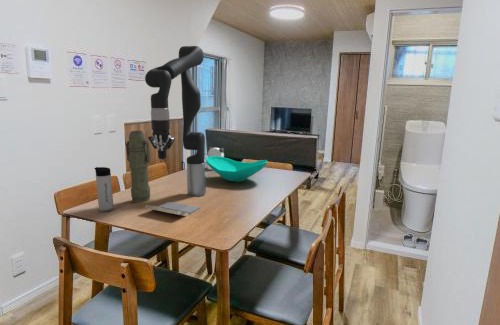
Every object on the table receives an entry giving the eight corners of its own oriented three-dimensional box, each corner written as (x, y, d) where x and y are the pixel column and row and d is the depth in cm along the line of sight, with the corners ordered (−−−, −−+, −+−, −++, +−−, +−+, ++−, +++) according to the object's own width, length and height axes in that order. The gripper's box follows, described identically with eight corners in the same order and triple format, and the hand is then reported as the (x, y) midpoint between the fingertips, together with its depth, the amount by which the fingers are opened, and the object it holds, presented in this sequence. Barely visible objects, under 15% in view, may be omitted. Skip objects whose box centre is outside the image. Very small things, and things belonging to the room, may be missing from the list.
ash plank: (156, 210, 153) (157, 206, 153) (188, 216, 145) (189, 213, 145) (144, 207, 146) (145, 204, 146) (177, 214, 138) (178, 211, 138)
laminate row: (169, 204, 161) (168, 201, 160) (199, 210, 153) (199, 207, 153) (158, 209, 154) (158, 206, 154) (190, 215, 146) (189, 212, 146)
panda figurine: (227, 167, 241) (226, 147, 238) (219, 170, 231) (219, 149, 228) (212, 165, 246) (212, 146, 243) (204, 169, 236) (204, 148, 233)
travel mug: (102, 207, 156) (98, 166, 152) (116, 207, 156) (112, 166, 152) (95, 212, 150) (91, 169, 146) (110, 212, 150) (106, 169, 146)
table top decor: (273, 178, 212) (273, 157, 209) (258, 189, 186) (259, 166, 184) (217, 172, 225) (216, 153, 223) (196, 182, 200) (196, 161, 197)
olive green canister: (134, 197, 171) (129, 129, 164) (156, 198, 169) (152, 130, 162) (125, 203, 162) (120, 131, 155) (148, 204, 161) (144, 132, 153)
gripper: (178, 118, 141) (180, 158, 145) (154, 117, 147) (156, 156, 150) (167, 120, 134) (168, 161, 138) (141, 118, 140) (144, 158, 144)
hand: (162, 158), depth 144 cm, fingers closed
